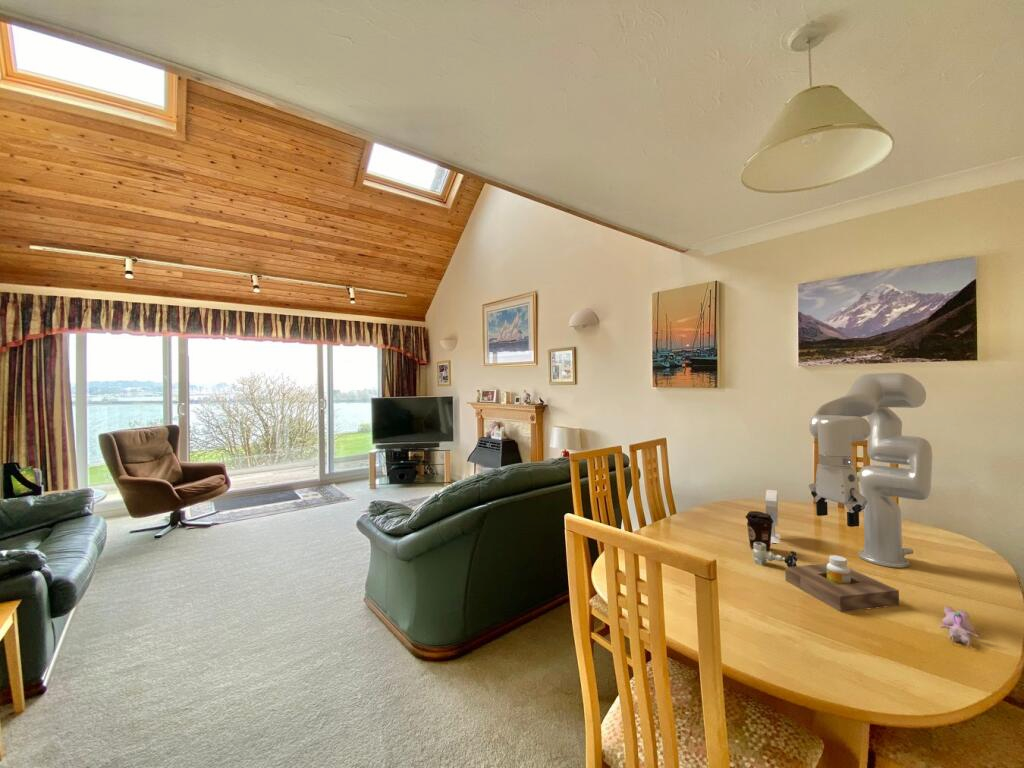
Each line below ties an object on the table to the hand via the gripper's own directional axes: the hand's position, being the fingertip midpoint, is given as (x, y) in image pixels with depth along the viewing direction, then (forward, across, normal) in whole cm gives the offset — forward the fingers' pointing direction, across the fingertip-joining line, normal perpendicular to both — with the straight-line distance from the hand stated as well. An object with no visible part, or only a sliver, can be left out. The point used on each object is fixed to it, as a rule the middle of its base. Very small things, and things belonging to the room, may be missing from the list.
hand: (837, 520), depth 119 cm
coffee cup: (+21, +32, 0) cm, 38 cm away
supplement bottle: (+21, 0, 0) cm, 21 cm away
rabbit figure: (+21, -22, -9) cm, 31 cm away
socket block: (+20, 0, +1) cm, 20 cm away
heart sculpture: (+21, +41, -13) cm, 48 cm away
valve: (+21, +18, +6) cm, 28 cm away
